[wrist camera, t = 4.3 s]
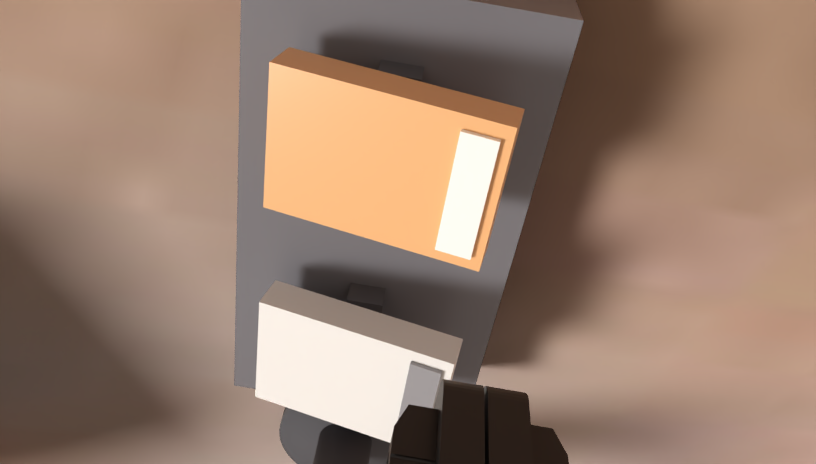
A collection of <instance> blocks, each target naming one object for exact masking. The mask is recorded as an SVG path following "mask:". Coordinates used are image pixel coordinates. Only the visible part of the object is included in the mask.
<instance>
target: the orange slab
mask: <svg viewBox="0 0 816 464" xmlns="http://www.w3.org/2000/svg"><path fill="white" fill-rule="evenodd" d="M524 110H525V109H523V108H520V107H516V106H512V105H508V104H504V103H500V102H497V101H493V100H489V99H485V98H481V97H478V96H474V95H470V94H466V93H462V92H459V91H455V90H451V89H447V88H443V87H439V86H436V85H432V84H428V83H424V82H420V81H417V80H413V79H409V78H405V77H401V76H398V75H394V74H390V73H386V72H382V71H379V70H375V69H371V68H367V67H363V66H359V65H356V64H352V63H348V62H344V61H340V60H337V59H333V58H329V57H325V56H321V55H318V54H314V53H310V52H306V51H302V50H298V49H295V48H291V47H289V48H287V49H286V50H285V51H283V52H282V53H281V54H279V55H278V56H277V57H275V58H274V59H273V60H271V61H270V62H269V83H268V106H267V130H266V154H265V177H264V201H263V207H264V208H268V209H271V210H274V211H278V212H281V213H284V214H288V215H291V216H294V217H298V218H301V219H304V220H308V221H311V222H314V223H318V224H321V225H324V226H328V227H331V228H334V229H338V230H341V231H344V232H348V233H351V234H354V235H358V236H361V237H364V238H368V239H371V240H374V241H378V242H381V243H384V244H388V245H391V246H394V247H398V248H401V249H404V250H408V251H411V252H414V253H418V254H421V255H424V256H428V257H431V258H434V259H438V260H441V261H445V262H448V263H451V264H455V265H458V266H461V267H465V268H468V269H471V270H475V271H478V272H479V271H480V268H481V265H482V262H483V259H484V256H485V254H486V251H487V248H488V244H489V240H490V237H491V233H492V229H493V226H494V222H495V218H496V214H497V211H498V207H499V203H500V199H501V196H502V192H503V188H504V185H505V181H506V177H507V173H508V170H509V166H510V162H511V159H512V155H513V151H514V147H515V144H516V140H517V136H518V133H519V129H520V125H521V121H522V118H523V114H524Z"/></svg>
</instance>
